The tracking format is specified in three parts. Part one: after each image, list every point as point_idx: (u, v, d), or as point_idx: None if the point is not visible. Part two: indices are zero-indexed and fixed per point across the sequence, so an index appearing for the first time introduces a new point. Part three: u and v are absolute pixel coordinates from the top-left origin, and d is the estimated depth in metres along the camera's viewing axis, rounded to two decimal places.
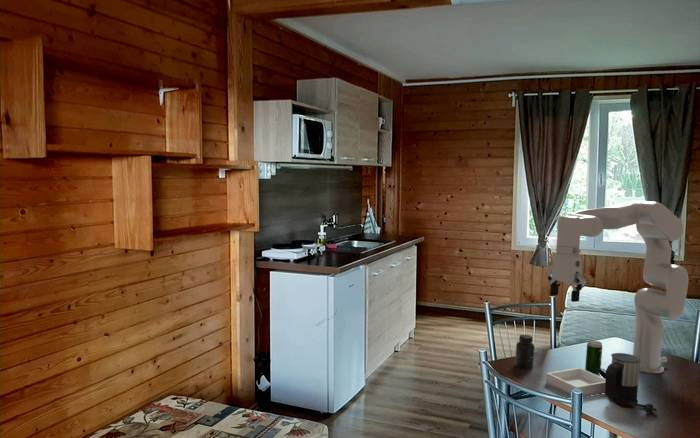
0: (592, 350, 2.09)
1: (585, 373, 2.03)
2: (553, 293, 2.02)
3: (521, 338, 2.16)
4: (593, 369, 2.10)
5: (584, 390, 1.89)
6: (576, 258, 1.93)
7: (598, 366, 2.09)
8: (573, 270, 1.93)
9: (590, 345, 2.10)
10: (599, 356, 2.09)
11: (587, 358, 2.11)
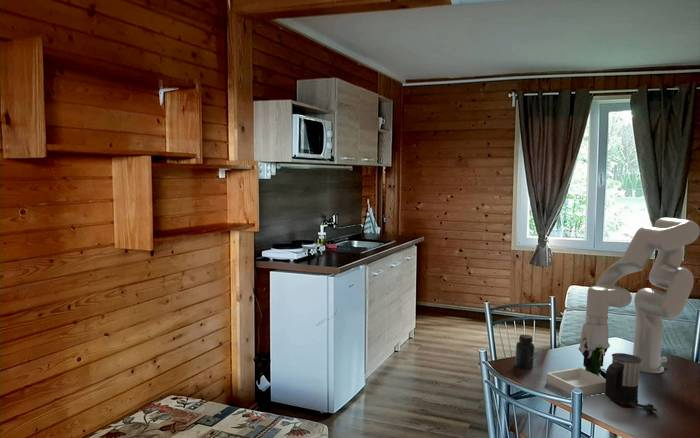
0: None
1: (585, 373, 2.03)
2: None
3: (521, 338, 2.16)
4: (592, 369, 2.10)
5: (584, 390, 1.89)
6: None
7: (598, 366, 2.09)
8: None
9: None
10: (599, 356, 2.09)
11: None
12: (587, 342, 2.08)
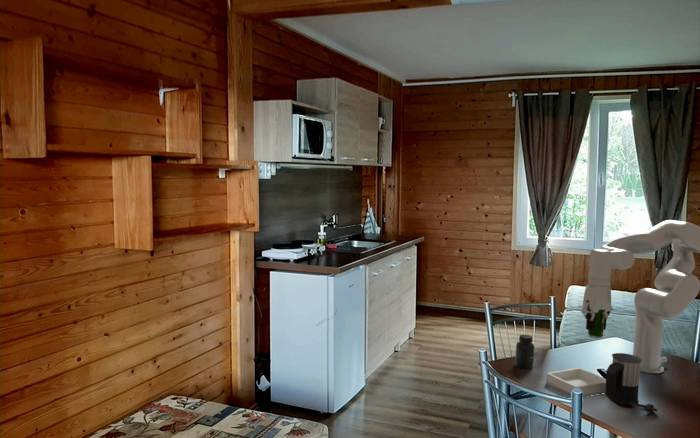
0: None
1: (585, 373, 2.03)
2: None
3: (521, 338, 2.16)
4: (595, 332, 2.08)
5: (584, 390, 1.89)
6: None
7: (600, 329, 2.08)
8: None
9: None
10: (602, 319, 2.08)
11: None
12: (590, 304, 2.07)
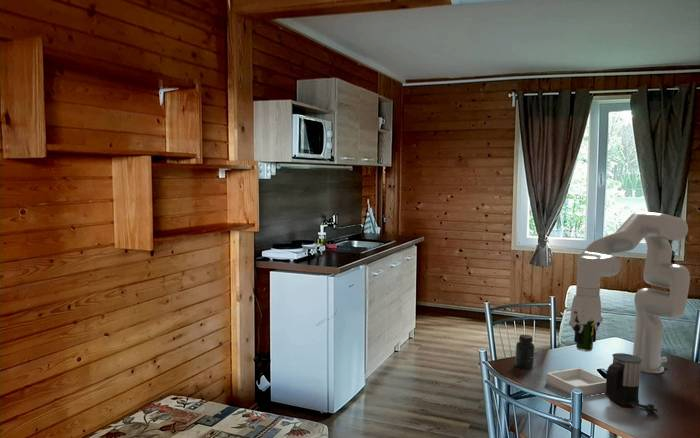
0: None
1: (585, 373, 2.03)
2: None
3: (521, 338, 2.16)
4: (584, 344, 1.94)
5: (584, 390, 1.89)
6: None
7: (590, 341, 1.94)
8: None
9: None
10: (591, 330, 1.94)
11: None
12: (578, 316, 1.92)
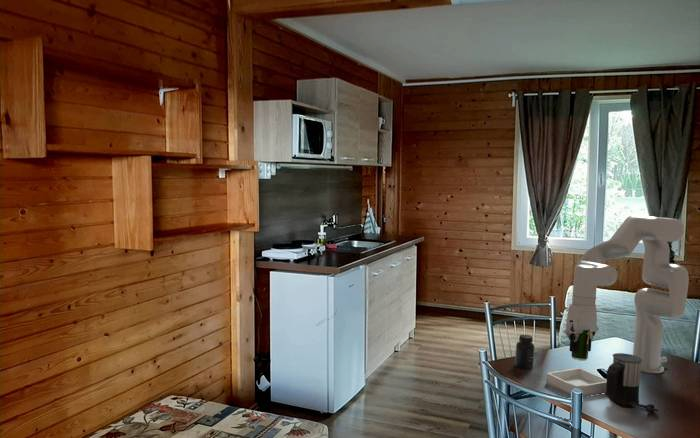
0: None
1: (585, 373, 2.03)
2: None
3: (521, 338, 2.16)
4: (579, 354, 1.94)
5: (584, 390, 1.89)
6: None
7: (585, 351, 1.93)
8: None
9: None
10: (586, 339, 1.93)
11: None
12: (573, 324, 1.92)
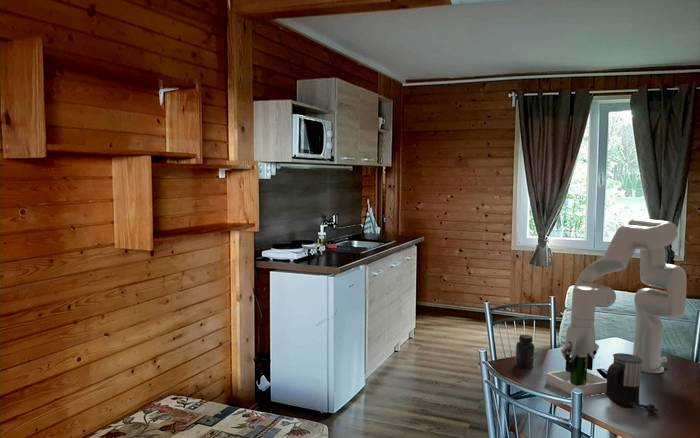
0: (576, 360, 1.95)
1: None
2: None
3: (521, 338, 2.16)
4: (577, 380, 1.95)
5: (584, 390, 1.89)
6: None
7: (583, 377, 1.94)
8: None
9: None
10: (584, 366, 1.94)
11: None
12: (572, 346, 1.93)
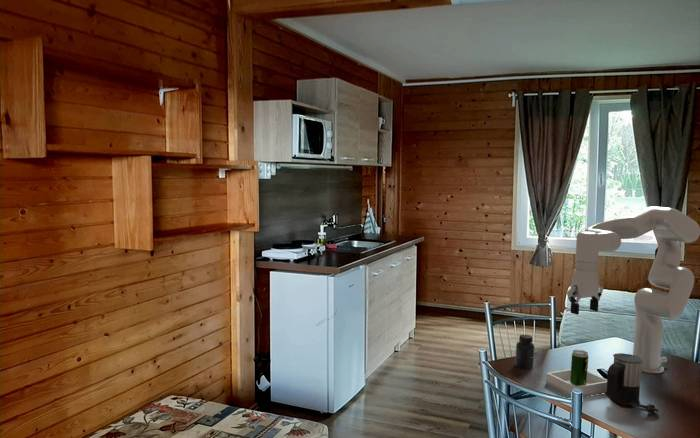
0: (577, 360, 1.95)
1: None
2: None
3: (521, 338, 2.16)
4: (577, 380, 1.95)
5: (584, 390, 1.89)
6: None
7: (583, 378, 1.94)
8: None
9: (575, 355, 1.95)
10: (585, 367, 1.94)
11: (572, 369, 1.96)
12: (577, 289, 1.99)
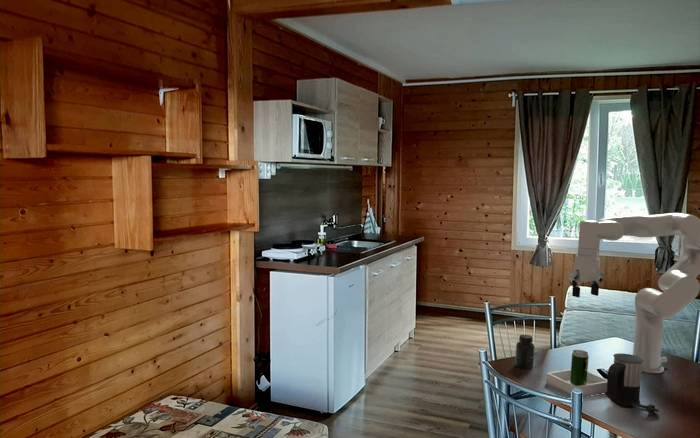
0: (577, 360, 1.95)
1: None
2: None
3: (521, 338, 2.16)
4: (577, 381, 1.95)
5: (584, 390, 1.89)
6: None
7: (583, 378, 1.94)
8: None
9: (575, 355, 1.95)
10: (585, 367, 1.94)
11: (572, 369, 1.96)
12: (579, 273, 2.13)
